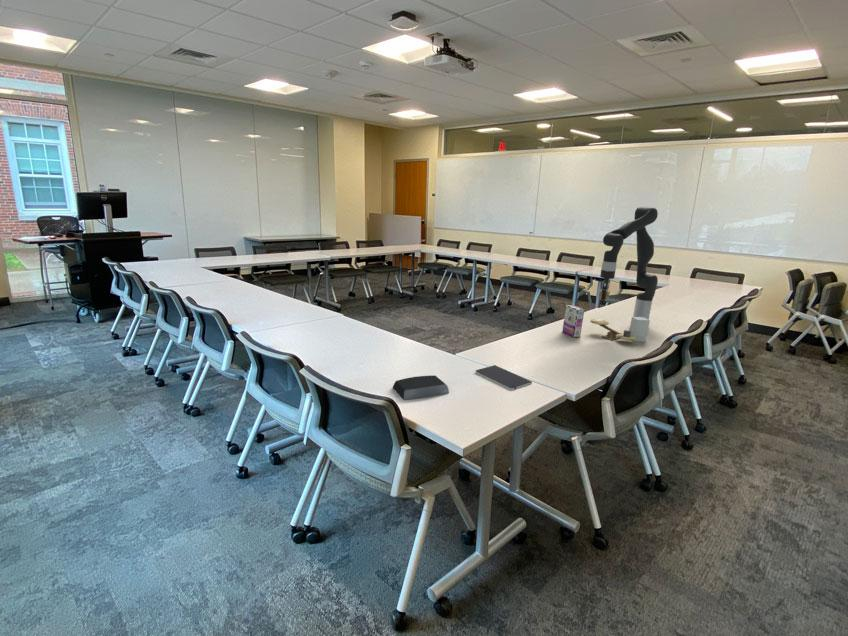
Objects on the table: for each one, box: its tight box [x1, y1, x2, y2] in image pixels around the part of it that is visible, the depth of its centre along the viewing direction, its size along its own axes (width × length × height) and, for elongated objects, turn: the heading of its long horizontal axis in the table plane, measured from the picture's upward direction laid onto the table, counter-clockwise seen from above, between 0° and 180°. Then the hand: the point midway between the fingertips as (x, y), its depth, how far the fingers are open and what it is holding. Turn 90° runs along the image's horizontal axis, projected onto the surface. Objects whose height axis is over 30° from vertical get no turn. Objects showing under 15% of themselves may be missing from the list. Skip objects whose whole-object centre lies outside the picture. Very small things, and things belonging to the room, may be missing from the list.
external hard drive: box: [392, 375, 450, 401], centre depth 176 cm, size 13×19×4 cm
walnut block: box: [598, 289, 611, 302], centre depth 259 cm, size 5×5×5 cm
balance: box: [590, 318, 636, 341], centre depth 257 cm, size 28×10×7 cm, turn 36°
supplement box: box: [629, 316, 650, 343], centre depth 256 cm, size 7×7×13 cm
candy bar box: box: [561, 304, 585, 338], centre depth 258 cm, size 11×5×16 cm, turn 17°
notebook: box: [475, 364, 532, 391], centre depth 193 cm, size 13×2×21 cm
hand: (603, 298), depth 259 cm, fingers closed on walnut block, 5 cm apart
